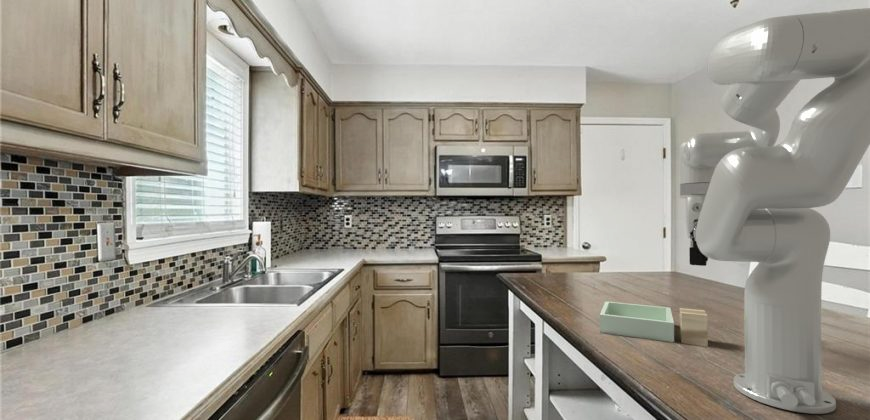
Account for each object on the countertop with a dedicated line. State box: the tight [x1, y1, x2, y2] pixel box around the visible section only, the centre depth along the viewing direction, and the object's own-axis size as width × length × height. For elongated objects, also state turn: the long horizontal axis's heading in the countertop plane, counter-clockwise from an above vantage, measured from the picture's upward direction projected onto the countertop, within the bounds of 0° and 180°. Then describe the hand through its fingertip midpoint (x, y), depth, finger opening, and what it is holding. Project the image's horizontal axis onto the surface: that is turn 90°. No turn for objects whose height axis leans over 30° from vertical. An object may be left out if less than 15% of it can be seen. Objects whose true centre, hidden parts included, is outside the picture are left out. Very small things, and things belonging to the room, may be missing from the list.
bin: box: [599, 301, 675, 343], centre depth 101 cm, size 16×16×4 cm
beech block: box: [679, 307, 709, 347], centre depth 91 cm, size 5×5×7 cm
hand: (699, 262), depth 93 cm, fingers open, 9 cm apart
